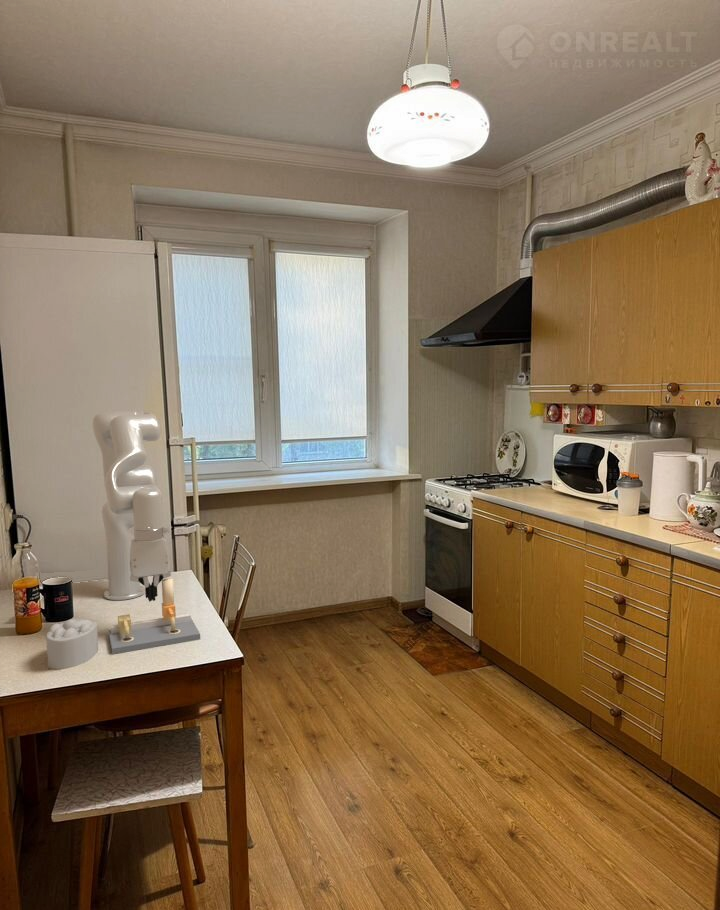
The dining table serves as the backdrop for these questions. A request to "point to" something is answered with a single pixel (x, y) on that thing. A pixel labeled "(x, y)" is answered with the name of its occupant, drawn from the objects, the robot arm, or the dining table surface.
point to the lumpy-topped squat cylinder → (71, 643)
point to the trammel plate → (150, 633)
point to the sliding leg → (168, 602)
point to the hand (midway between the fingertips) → (151, 599)
